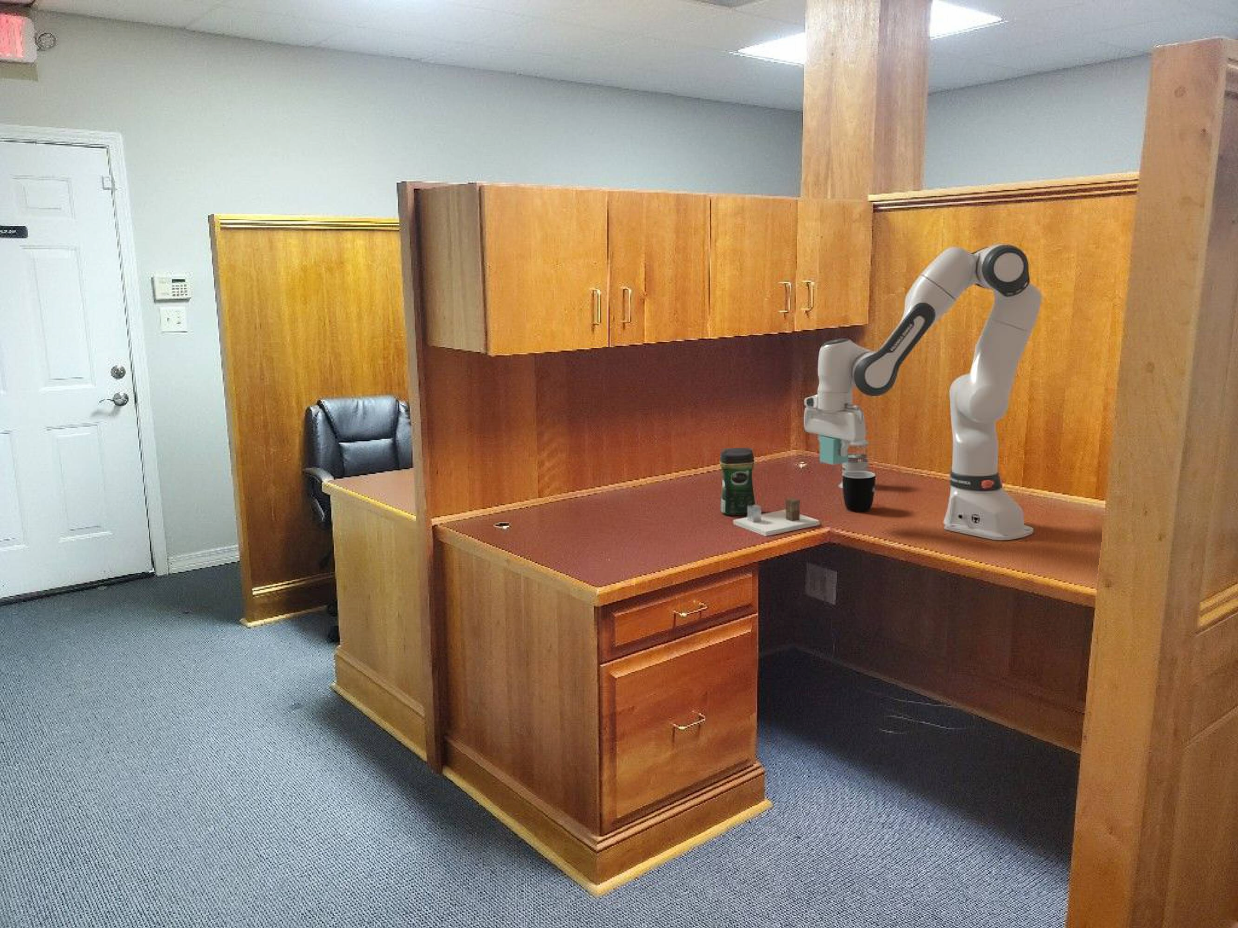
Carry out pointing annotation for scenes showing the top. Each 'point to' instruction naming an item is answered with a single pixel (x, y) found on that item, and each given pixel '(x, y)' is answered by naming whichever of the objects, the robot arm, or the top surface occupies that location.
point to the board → (775, 523)
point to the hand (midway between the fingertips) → (833, 453)
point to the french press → (856, 459)
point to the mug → (858, 490)
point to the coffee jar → (736, 480)
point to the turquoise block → (831, 451)
